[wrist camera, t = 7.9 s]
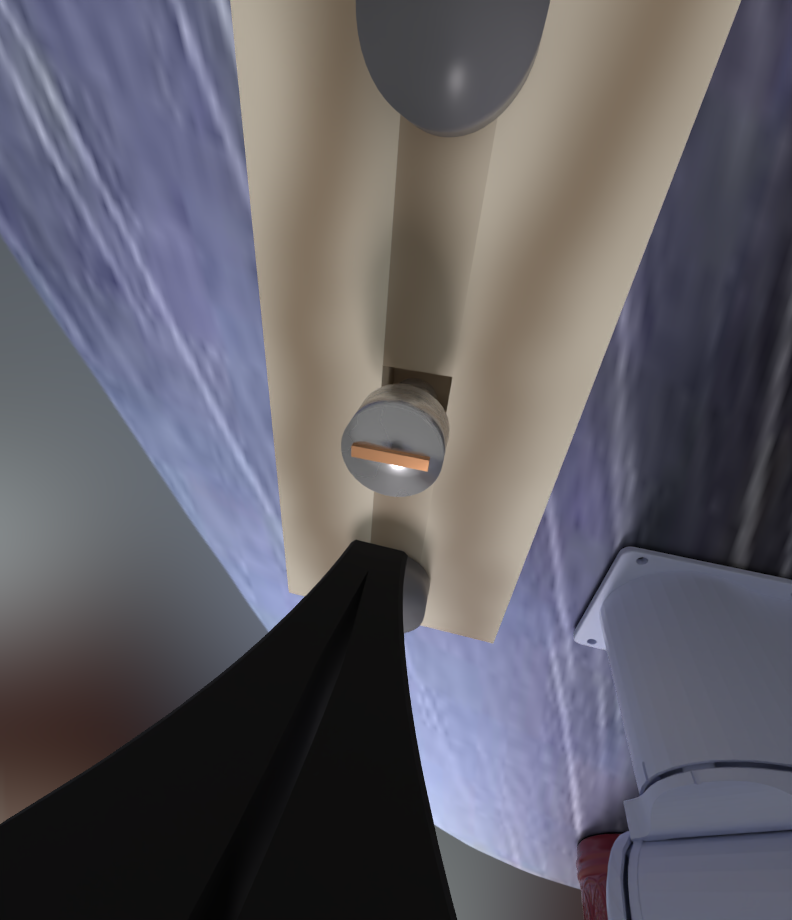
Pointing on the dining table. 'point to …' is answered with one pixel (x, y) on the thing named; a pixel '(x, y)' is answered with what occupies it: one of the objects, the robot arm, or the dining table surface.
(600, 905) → the canister
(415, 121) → the knob front
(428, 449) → the pot knob
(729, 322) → the dining table surface
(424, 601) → the knob back
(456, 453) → the mount board
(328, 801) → the robot arm
